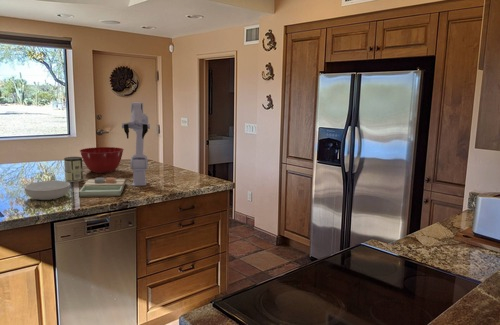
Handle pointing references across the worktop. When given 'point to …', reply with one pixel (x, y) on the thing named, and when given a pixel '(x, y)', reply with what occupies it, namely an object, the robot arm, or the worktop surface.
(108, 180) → the terracotta tile
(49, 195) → the serving bowl
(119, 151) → the mixing bowl
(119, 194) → the box
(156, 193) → the worktop surface
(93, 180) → the birch board
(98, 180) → the slate tile
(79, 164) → the coffee can
